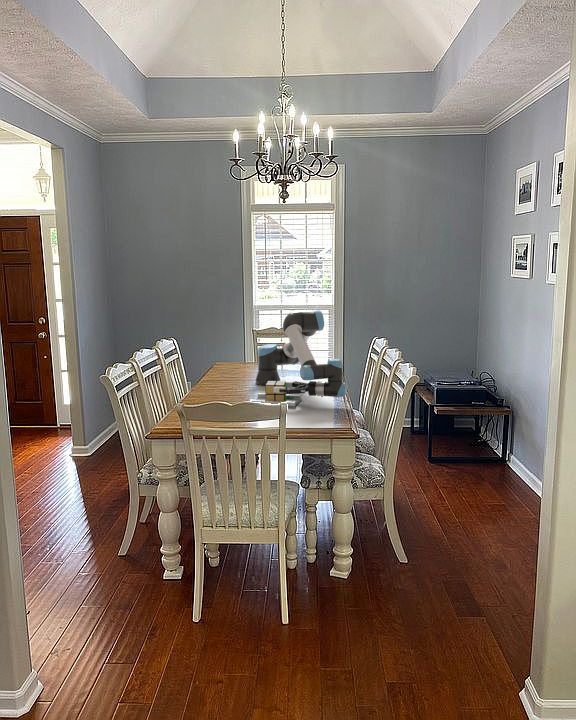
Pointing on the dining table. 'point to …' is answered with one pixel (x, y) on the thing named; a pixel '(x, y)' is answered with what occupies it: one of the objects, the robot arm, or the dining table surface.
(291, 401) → the rail base
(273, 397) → the puzzle cube
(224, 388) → the dining table surface
